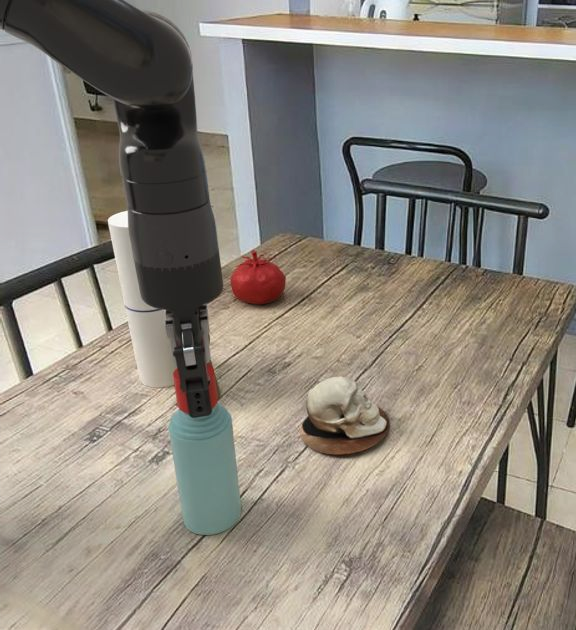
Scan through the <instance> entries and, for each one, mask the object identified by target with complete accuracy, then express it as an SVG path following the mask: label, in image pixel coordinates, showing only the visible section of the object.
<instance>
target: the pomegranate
mask: <svg viewBox="0 0 576 630" xmlns="http://www.w3.org/2000/svg"><path fill="white" fill-rule="evenodd" d="M250 254H251V256H252V258H251V257H250V256H246V255H245V256H244V255H241V258H242V259H245V260H244V261H243V262H242V263H239V264H238V265H235V267H236V268H235V269H234V271H233V272H232V274H231V275H230V287H231V291H232V294H233V295H234V297H235V298H237V300H239V301H241V302H243V303H247V304H254V305H265V304H269V303H271V302H274V301H276V300H278V299H279V298H280V297H281V296H282V294H283V293H284V290H285V286H286V282H287V281H286V280H287V277H286V275H285V273H284V272H283V271H282V269H280V267H279V266H278V265H276V264H275V263H274V262H271V261H270V260H269V259H271V260H272V259H274V260H275V259H278V258H277V257H267V258H263V259H262V258H261V257H265V254H262V253H260V254H259V256H258V252H257V251H256V250H251V251H250Z"/></svg>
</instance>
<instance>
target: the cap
mask: <svg viewBox="0 0 576 630" xmlns="http://www.w3.org/2000/svg"><path fill="white" fill-rule="evenodd" d="M212 365H213V364H212ZM212 365H210V364H208V363H207V372H208V376H210V385H209V393H210V400H211V406H212V408H214V407H215V406H216V404H217V403H218V402H219V398H218V397H217V389H216V380H215V375H216V372H215V367H214V365H213V366H212ZM173 379H174V385H173V386H174V391H175V397H176V405H177V408H178V410H179V409H180V410H181V411H182V412H184V413H188V414H189V411H188V405H187V399H186V393H183V392H182V390H181V389H180V384H181V383H180V378H179V373H178V369H175V371H174V373H173Z"/></svg>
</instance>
